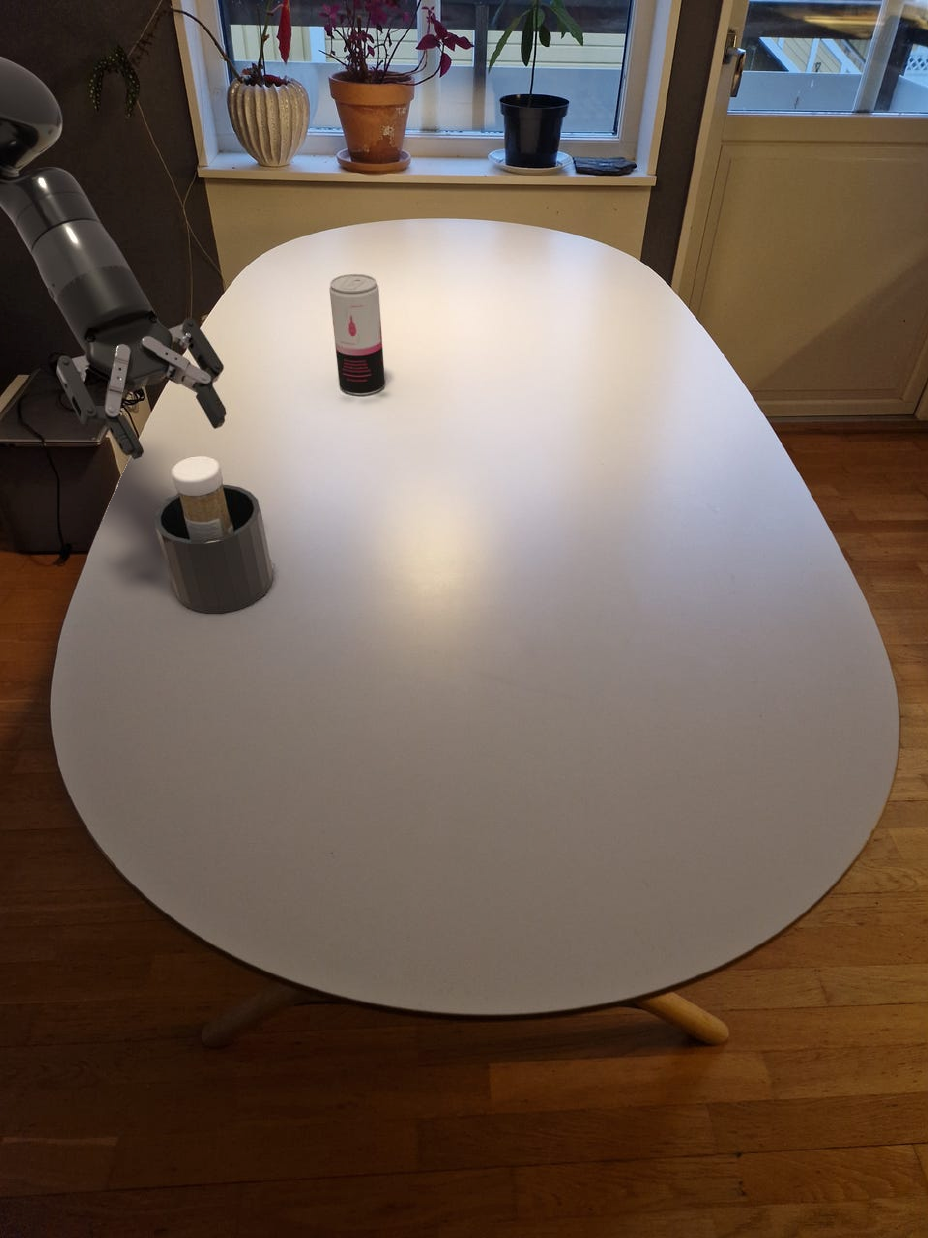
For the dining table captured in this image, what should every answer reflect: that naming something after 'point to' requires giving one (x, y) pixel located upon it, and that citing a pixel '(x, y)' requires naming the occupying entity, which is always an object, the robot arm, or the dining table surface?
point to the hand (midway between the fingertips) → (181, 439)
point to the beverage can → (357, 333)
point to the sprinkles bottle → (202, 497)
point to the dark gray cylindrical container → (217, 556)
